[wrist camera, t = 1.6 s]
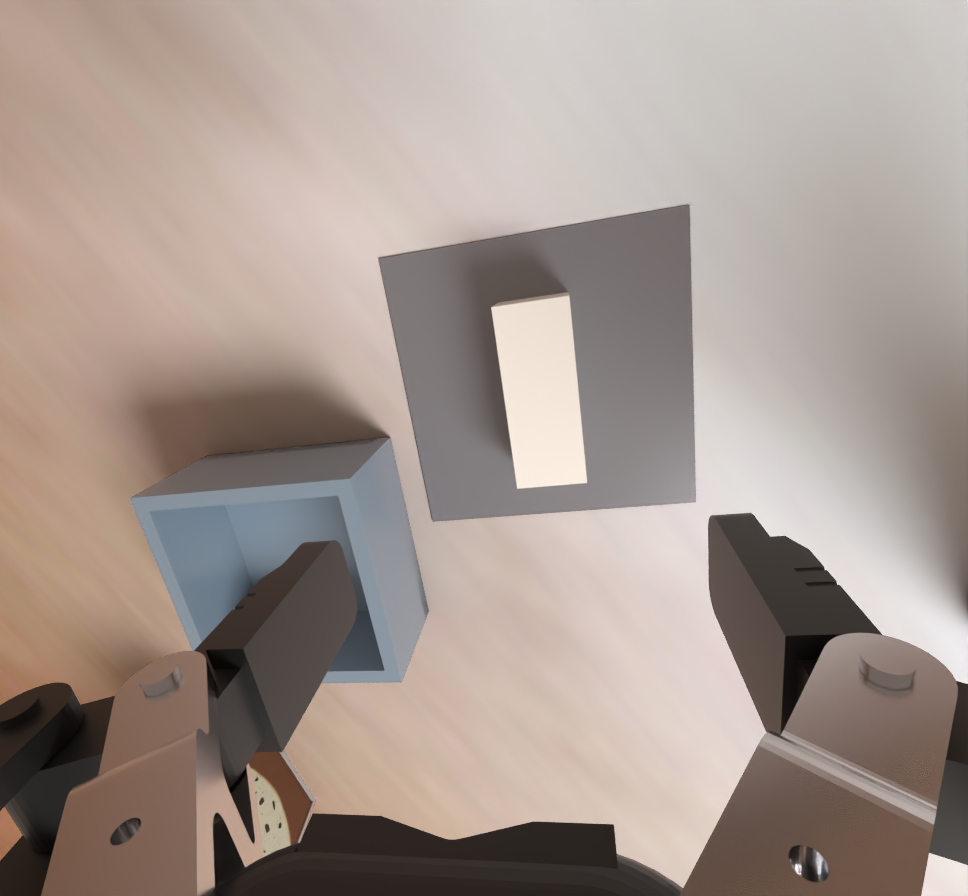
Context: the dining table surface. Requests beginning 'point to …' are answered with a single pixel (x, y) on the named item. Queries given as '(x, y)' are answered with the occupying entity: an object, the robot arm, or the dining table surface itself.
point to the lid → (551, 367)
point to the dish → (292, 541)
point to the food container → (280, 800)
